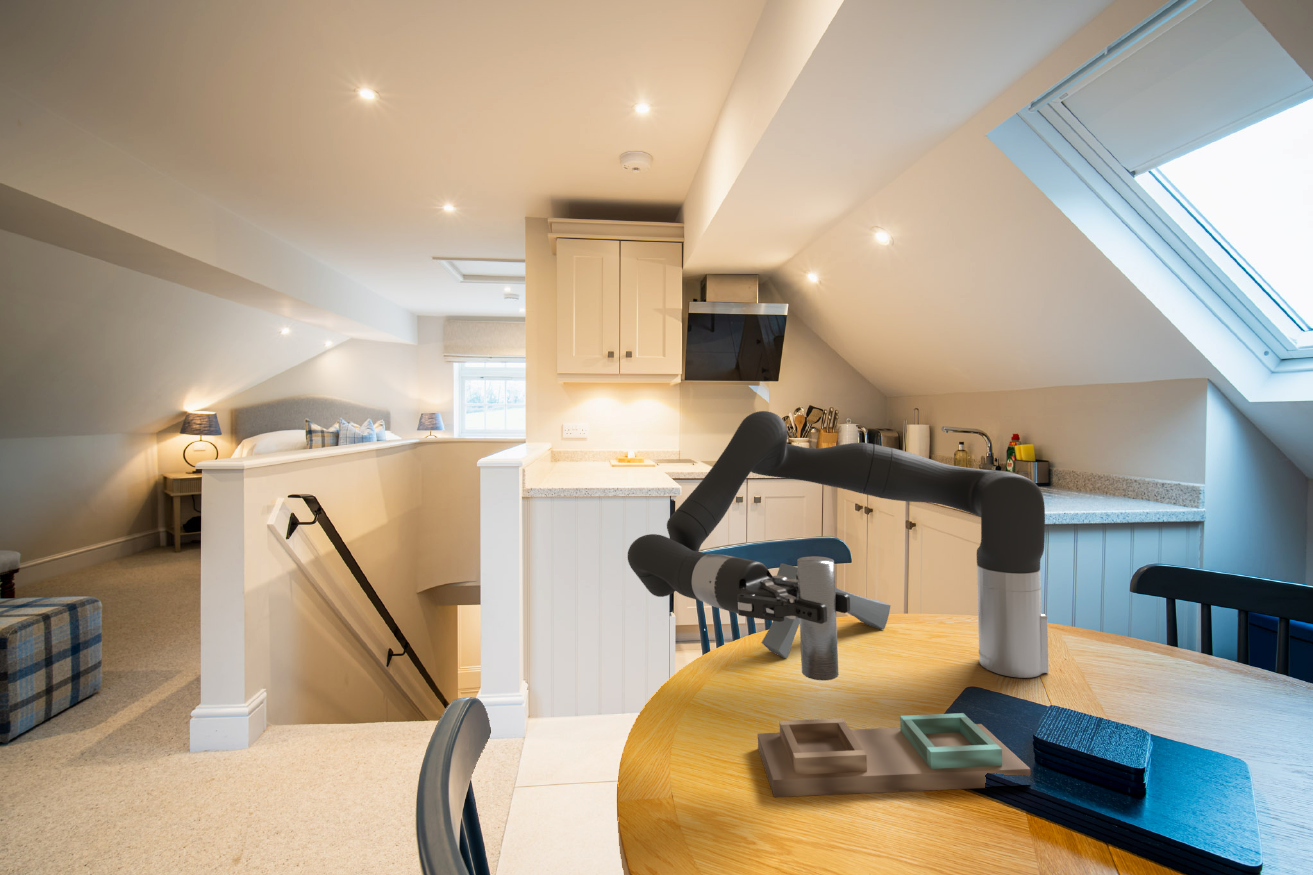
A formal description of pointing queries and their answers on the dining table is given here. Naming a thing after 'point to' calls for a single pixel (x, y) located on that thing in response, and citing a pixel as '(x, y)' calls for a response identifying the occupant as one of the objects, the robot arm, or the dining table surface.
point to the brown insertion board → (883, 756)
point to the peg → (816, 637)
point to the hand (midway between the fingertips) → (836, 609)
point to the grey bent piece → (785, 631)
